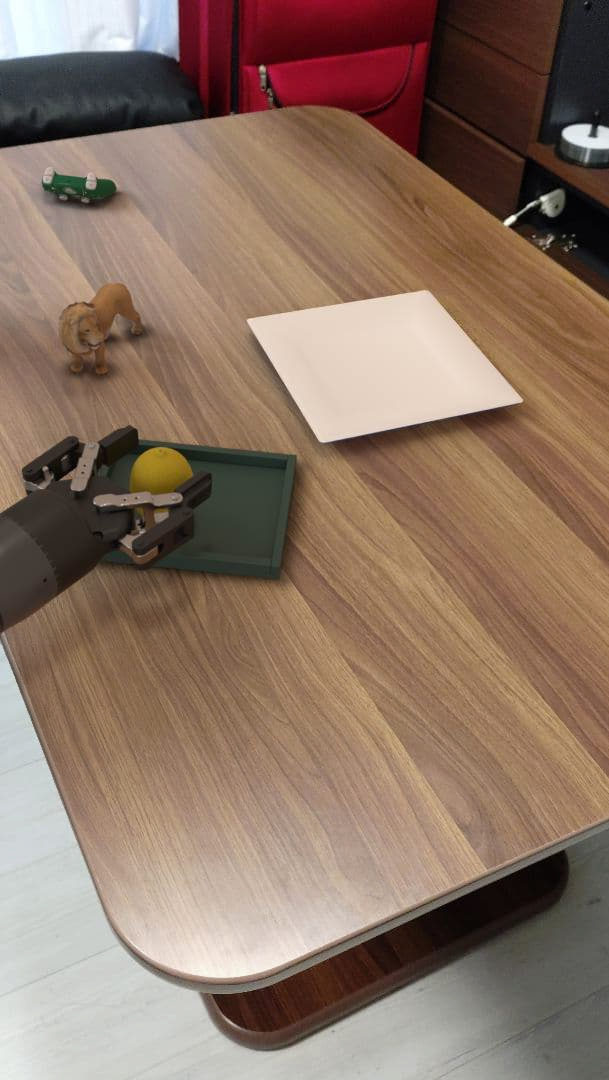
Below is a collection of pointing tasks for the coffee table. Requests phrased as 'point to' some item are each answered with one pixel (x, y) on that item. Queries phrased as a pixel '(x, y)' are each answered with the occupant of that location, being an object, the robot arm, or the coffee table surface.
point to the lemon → (159, 473)
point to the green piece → (77, 186)
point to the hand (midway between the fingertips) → (171, 456)
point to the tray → (226, 509)
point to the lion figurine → (95, 324)
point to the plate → (380, 365)
